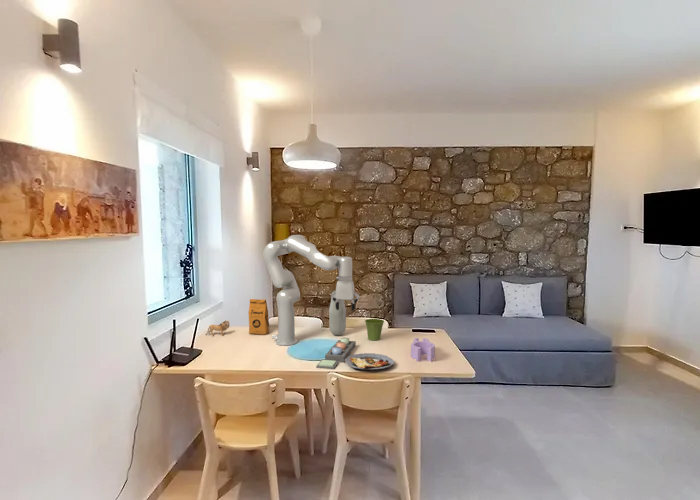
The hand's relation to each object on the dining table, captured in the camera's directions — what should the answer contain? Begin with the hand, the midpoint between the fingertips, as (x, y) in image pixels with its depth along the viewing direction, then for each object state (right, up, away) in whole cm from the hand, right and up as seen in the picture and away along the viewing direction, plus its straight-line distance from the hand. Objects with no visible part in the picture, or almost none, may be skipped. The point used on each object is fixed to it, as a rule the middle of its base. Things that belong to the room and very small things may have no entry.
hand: (345, 309), depth 243 cm
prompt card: (-8, -24, -26) cm, 36 cm away
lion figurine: (-79, -20, +29) cm, 87 cm away
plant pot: (+17, -21, +20) cm, 34 cm away
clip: (+41, -23, -11) cm, 49 cm away
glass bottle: (-5, -20, +29) cm, 36 cm away
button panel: (-2, -23, -7) cm, 24 cm away
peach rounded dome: (-2, -21, -7) cm, 22 cm away
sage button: (0, -20, +2) cm, 20 cm away
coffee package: (-55, -20, +32) cm, 67 cm away
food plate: (+12, -24, -25) cm, 37 cm away
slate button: (-4, -22, -16) cm, 27 cm away
